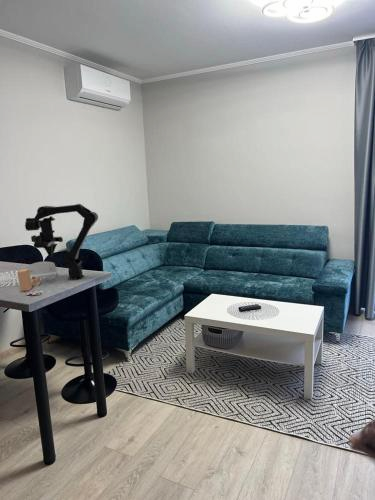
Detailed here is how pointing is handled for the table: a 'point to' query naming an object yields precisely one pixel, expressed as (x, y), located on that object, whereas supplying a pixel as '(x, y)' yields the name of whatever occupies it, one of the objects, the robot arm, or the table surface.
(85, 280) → the table surface
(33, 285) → the pintle
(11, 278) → the table surface
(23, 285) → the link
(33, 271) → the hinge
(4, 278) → the table surface
